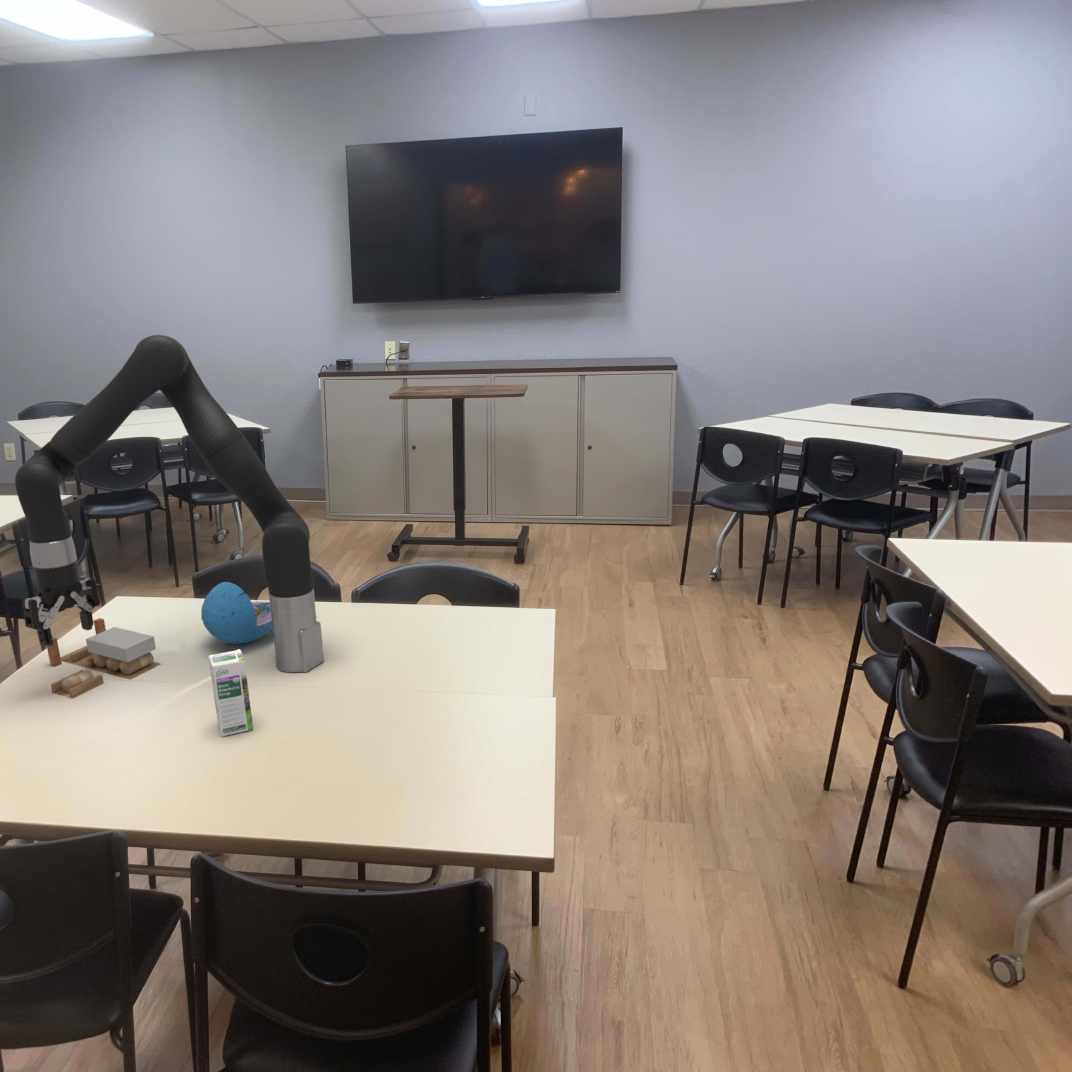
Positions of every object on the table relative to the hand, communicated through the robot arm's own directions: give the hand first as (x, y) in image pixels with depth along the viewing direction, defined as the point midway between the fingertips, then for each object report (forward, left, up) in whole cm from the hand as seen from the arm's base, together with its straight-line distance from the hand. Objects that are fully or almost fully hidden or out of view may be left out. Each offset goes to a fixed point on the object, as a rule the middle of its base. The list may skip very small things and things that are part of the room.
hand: (68, 636), depth 161 cm
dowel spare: (0, 0, -11) cm, 11 cm away
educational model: (-12, -34, -13) cm, 38 cm away
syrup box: (-39, -3, -13) cm, 41 cm away
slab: (0, -11, -8) cm, 14 cm away
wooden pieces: (+5, -7, -12) cm, 15 cm away
